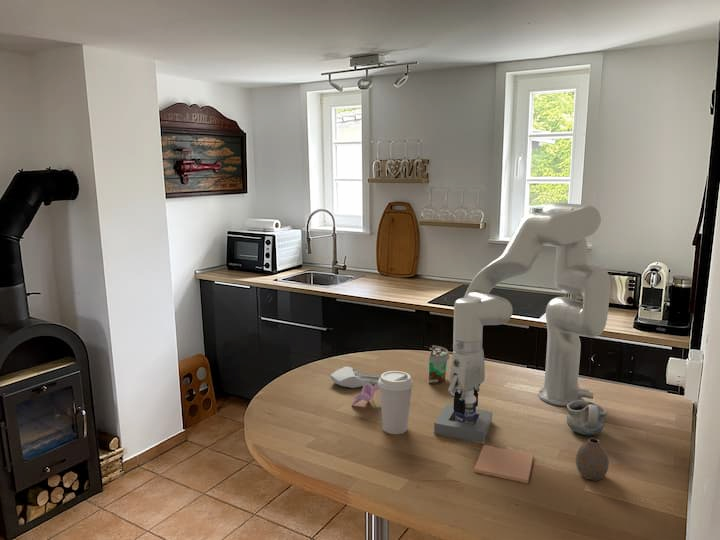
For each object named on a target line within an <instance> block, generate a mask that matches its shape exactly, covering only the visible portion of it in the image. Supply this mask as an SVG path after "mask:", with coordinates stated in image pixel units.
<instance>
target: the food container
mask: <svg viewBox="0 0 720 540" xmlns="http://www.w3.org/2000/svg"><path fill="white" fill-rule="evenodd" d="M428 359H429V360H428V365H429V366H428V385H431V386H432V385H439V384H440V385H441V384H443V383H445V380H446V375H447V374H446V373H447V365H448V364H447V363H448V360H450V354H449V351H448V349H447V348H445V347H443V346H439V345H431V352H430V356H429V357H428Z"/></svg>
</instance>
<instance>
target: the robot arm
mask: <svg viewBox="0 0 720 540" xmlns="http://www.w3.org/2000/svg"><path fill="white" fill-rule="evenodd" d="M601 221H602V217H601V214H600V211H599V210H598V208H596V207H595V206H592V205H589V204H579V203H567V202H564V203H563V202H556V203H555V202H554V203H553V202H552V203H548V204H546V205H545V206H544V207H542V210H541V212H529V213H527V214H525V215H524V216H523V217H522V218H521V220H520V221H519V223H518V225H517V227H516V229H515V230H514V232H513V233H512V235H511V238H510V239H509V241H508V243H507V245H506V246H505V249H504V250H503V251H502V253H501V255H500V256H499V257H498V258H497V259H494V260H493V261H491V263H489V264H487V265H486V266H484V268H482V269H481V270H480V271H479V272H478V273H477V274H475V276H474V277H473V278H472V280H471V282H470V284H469V286H468V287H467V290H466V291H465V293H464V295H463V297H461V298H458V299H456V300H455V301H454V304H453V336H452V337H453V338H452V341H453V343H452V349H453V351H452V355H451V361H450V362H451V363H450V372H449V381H450V384H449V387H448V389H447V392H448V393H450V395H451V396H452V398H453V405H454V411H455V412H458V413H461V414H464V413H465V400H464V399H463V398H464V394H465V391H467V390H469V389H471V388H474V394H473V395H474V396H475V397H476V408H477V407H478V405H479V392H480V386H481V384H483V382H484V381H485V374H486V373H485V372H486V371H485V370H486V369H485V367H486V366H485V365H486V364H485V355H484V353H485V352H484V348H483V332H484V331H483V327H484V326H499V325H503V324H506V323H507V322H508V321H509V320H510V319H511V318H512V315H513V312H514V311H513V306H512V303H511V302H510V301H509V300H508V299H506V298H504V297H501V296H499V295H496V294H495V295H494V294H491V293H490V292H491V291H492V290H493V288H494V287H495V286H497V285H498V284H500V283H502V282H503V281H505V280H508V279H510V278H515V277H519V276H521V275H524V274H527V273H529V271H530V270H531V268H532V267H533V264H534V263H535V262H536V259H537V257H538V256H539V253H540V252H541V250H542V249H543V247H544V246H546V245H547V246H552V247H556V253H555V255H556V256H555V265H554V277H553V279H554V280H553V283H554V287H555V289H556V290H558V291H559V292H562V293H564V294H567V295H572V296H576V297H581V298H582V300H580V299H575V298H571V297H569V296H568V297H567V296H557V297H554V298H552V299H551V300H549V301H548V303H547V305H546V307H545V319H546V321H545V322H546V329H547V340H546V341H547V342H546V354H545V357H546V358H545V371H544V383H543V385H544V386H543V388H540V389H539V390H538V397H539V399H540V400H542V401H543V402H546V403H548V404H550V405H554V406H560V407H567V404H569V403H571V402H573V401H578V400H583V398H586V399H589V400H590V399H591V400H593V399H594V392H592V391H590V389H587V388H582V387H580V383H579V373H580V360H581V349H582V348H581V347H582V346H581V345H582V344H581V339H580V336H579V335H581V336H584V337H588V338H595V337H598V336H600V335H601V334H602V333H603V332H604V331H605V328H606V325H607V322H608V317H609V316H608V315H609V305H610V304H609V303H610V296H611V285H612V284H611V283H612V282H611V276H610V274H609V273H608V271H607V270H606V269H605V268H604V267H601V266H597V265H595V264H594V265H593V264H589V263H588V241H587V238H588V237H590V236H592V235H594V234H595V233H596V232H597V231H598V229H599V227H600V226H601ZM459 390H461V393H460V394H459Z"/></svg>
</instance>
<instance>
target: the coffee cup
mask: <svg viewBox="0 0 720 540" xmlns="http://www.w3.org/2000/svg"><path fill="white" fill-rule="evenodd" d="M380 375H381V377H380V378H379V380H378V385H379V386H380V389H379V394H380V405H381V407H380V408H381V420H382V430H383V431H384V432H385V433H387V434H390V435H401V434H404V433H406V432H407V430H408V422H409V414H410V407H411V406H410V405H411V404H410V403H411V396H412V388H413V387H414V384H415V383H414V380H413V379H412V376H411V375H410V373H407V372H404V371H400V370H389V371H385V372H383V373H382V374H380Z"/></svg>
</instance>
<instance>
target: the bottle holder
mask: <svg viewBox="0 0 720 540" xmlns="http://www.w3.org/2000/svg"><path fill="white" fill-rule="evenodd" d="M455 413H456V412H455V411H454V404H449V403H446V404H445V406H444V408H442V410H441V412H440V413H439V415H438V417H437V418H436V420H435V422H434V423H433V425H434V428H433V429H434V431H433V432H434V433H433V434H434V435H440V436H446V437H450V438H455V439H461V440H465V441H470V442H475V443H481V444H484V443H485V440H486V439H487V435H488V433H489V430H490V428H491V425H492V422H493V411H491V410H490V411H489V410H483V409H477V408H476V419H475V423H474V424H473V425H471V424H465V423H460V422H456V421H455Z"/></svg>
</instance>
